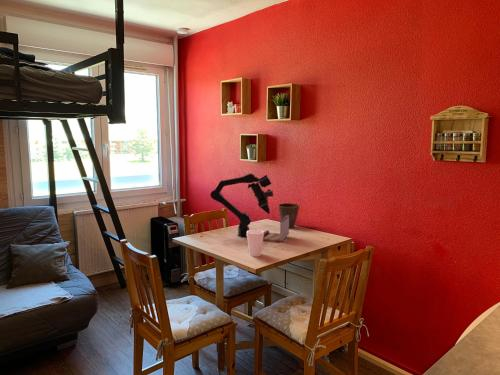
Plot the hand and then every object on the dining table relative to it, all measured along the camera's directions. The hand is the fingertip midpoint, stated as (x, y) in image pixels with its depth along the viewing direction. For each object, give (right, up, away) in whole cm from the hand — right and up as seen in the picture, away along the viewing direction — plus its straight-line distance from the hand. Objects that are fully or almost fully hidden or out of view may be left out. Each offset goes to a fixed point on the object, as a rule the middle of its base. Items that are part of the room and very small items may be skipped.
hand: (269, 212), depth 245 cm
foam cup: (-10, -21, -37) cm, 43 cm away
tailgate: (+9, -15, -6) cm, 19 cm away
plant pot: (+15, -13, +27) cm, 34 cm away
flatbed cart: (+2, -17, -4) cm, 17 cm away
